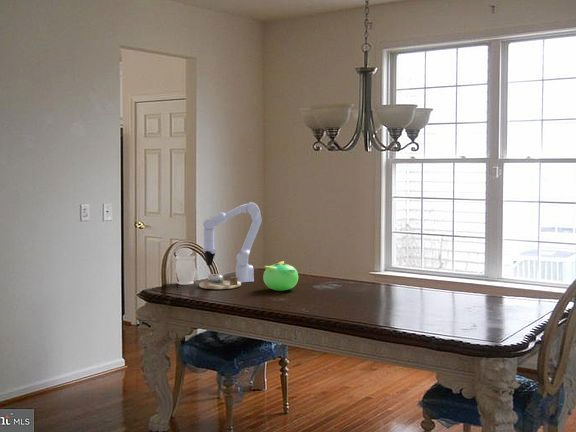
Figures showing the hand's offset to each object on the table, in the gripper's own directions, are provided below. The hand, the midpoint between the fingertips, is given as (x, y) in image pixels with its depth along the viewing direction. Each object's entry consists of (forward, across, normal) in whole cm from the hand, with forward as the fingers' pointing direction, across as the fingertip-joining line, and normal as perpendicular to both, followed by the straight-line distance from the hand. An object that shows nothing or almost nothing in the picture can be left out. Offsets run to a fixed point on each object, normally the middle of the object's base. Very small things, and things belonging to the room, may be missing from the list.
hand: (209, 265), depth 395 cm
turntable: (+9, +16, 0) cm, 19 cm away
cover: (+8, +10, 0) cm, 12 cm away
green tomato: (+10, +42, +23) cm, 49 cm away
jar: (+10, -2, -13) cm, 16 cm away
